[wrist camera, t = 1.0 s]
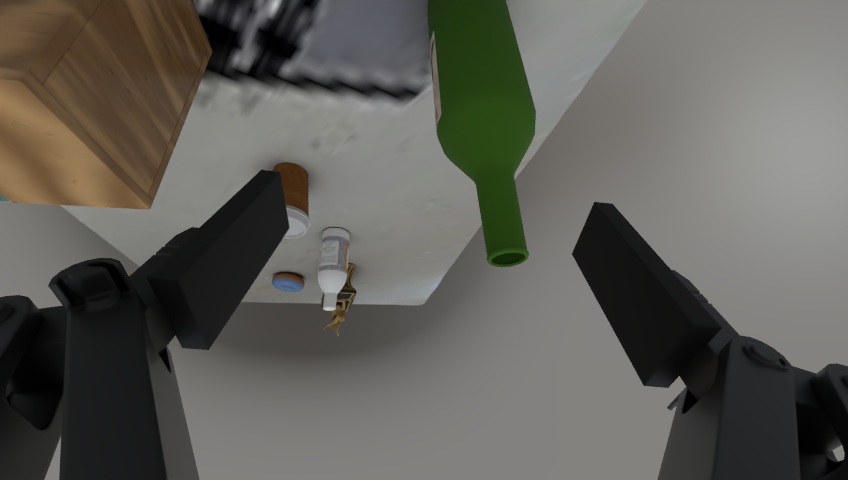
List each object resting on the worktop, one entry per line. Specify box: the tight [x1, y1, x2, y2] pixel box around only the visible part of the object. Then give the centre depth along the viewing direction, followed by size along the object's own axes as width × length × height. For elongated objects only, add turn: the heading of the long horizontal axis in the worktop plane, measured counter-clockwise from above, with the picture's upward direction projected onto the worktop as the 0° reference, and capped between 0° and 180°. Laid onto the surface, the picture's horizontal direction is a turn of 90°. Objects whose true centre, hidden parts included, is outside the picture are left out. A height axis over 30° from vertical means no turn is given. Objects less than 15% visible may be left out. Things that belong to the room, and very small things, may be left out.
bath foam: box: [318, 228, 350, 311], centre depth 82 cm, size 7×7×20 cm
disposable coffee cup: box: [273, 163, 310, 238], centre depth 62 cm, size 10×10×12 cm
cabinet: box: [0, 0, 212, 209], centre depth 30 cm, size 11×14×24 cm
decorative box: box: [321, 264, 356, 336], centre depth 106 cm, size 20×10×20 cm, turn 162°
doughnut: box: [272, 273, 304, 292], centre depth 111 cm, size 10×10×5 cm
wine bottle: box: [428, 0, 536, 267], centre depth 32 cm, size 9×9×32 cm
